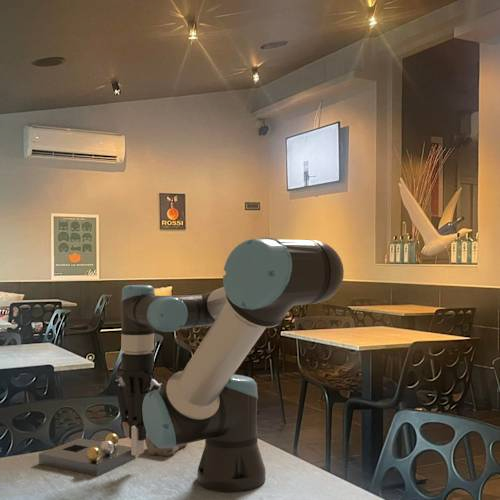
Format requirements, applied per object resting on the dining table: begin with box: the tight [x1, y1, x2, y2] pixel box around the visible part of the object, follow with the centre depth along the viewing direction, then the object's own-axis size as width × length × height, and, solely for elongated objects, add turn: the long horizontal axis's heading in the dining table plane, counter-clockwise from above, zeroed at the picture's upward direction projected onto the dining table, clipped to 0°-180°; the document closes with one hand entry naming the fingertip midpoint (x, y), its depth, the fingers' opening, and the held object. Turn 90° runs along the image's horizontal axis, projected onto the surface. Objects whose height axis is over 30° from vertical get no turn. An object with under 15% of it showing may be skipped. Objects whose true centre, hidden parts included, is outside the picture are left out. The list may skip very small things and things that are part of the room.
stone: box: [144, 434, 188, 457], centre depth 158 cm, size 13×6×10 cm
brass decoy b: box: [104, 432, 120, 446], centre depth 152 cm, size 3×3×3 cm
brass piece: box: [87, 447, 101, 462], centre depth 141 cm, size 3×3×3 cm
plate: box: [38, 437, 137, 477], centre depth 148 cm, size 18×14×2 cm
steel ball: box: [101, 440, 114, 455], centre depth 145 cm, size 3×3×3 cm
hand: (137, 453), depth 141 cm, fingers closed
